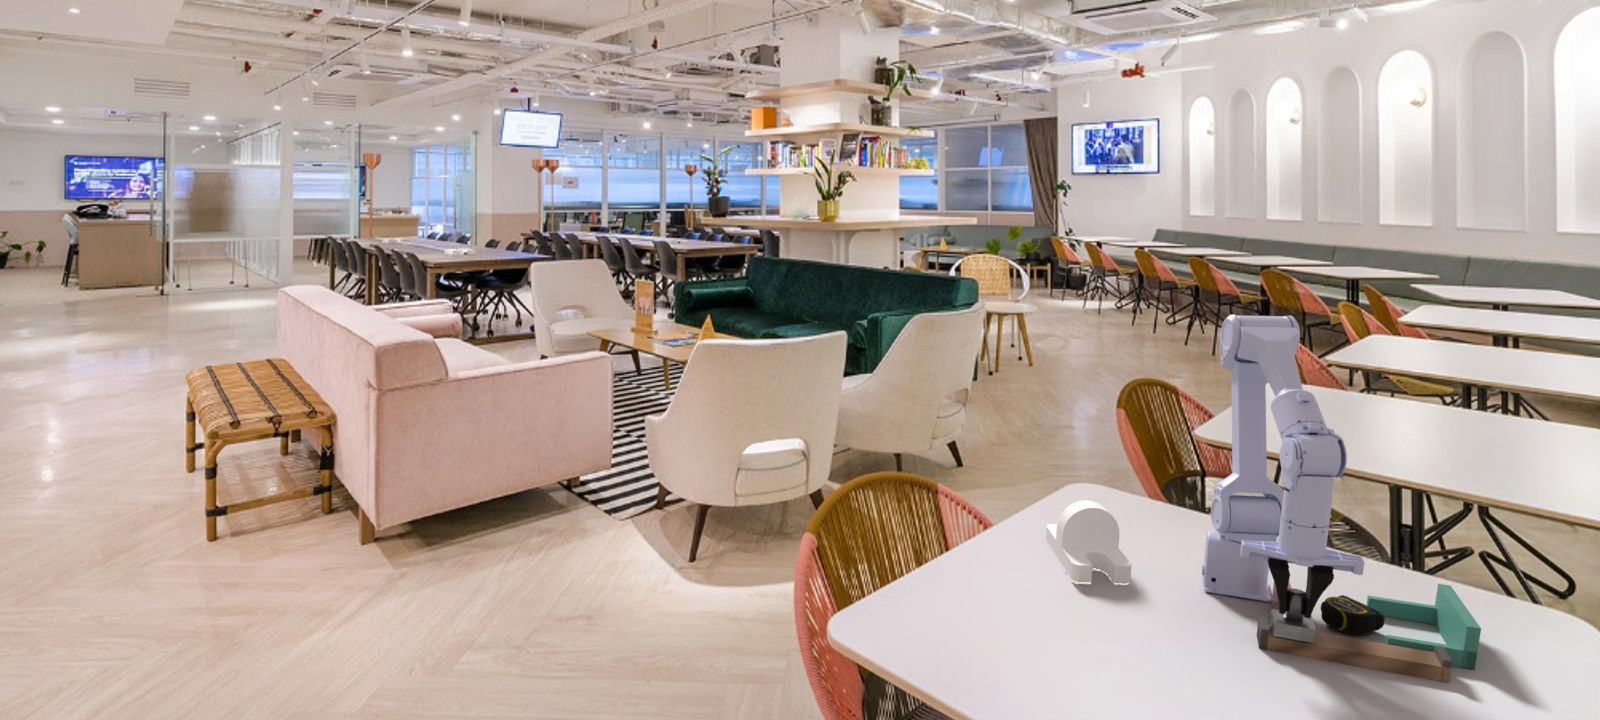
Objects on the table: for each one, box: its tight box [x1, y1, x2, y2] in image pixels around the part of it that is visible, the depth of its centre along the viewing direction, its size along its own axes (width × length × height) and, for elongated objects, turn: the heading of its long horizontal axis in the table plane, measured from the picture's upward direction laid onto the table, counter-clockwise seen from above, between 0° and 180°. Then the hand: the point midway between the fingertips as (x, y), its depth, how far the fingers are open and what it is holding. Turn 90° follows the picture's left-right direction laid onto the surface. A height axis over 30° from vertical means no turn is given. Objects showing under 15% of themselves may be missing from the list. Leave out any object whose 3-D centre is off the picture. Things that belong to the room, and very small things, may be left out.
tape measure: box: [1320, 594, 1386, 636], centre depth 127 cm, size 7×7×4 cm
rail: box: [1256, 615, 1453, 683], centre depth 118 cm, size 22×4×3 cm, turn 67°
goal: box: [1365, 583, 1482, 671], centre depth 123 cm, size 10×14×6 cm
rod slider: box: [1269, 581, 1317, 643], centre depth 126 cm, size 5×16×8 cm, turn 157°
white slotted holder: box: [1045, 499, 1132, 584], centre depth 149 cm, size 10×18×11 cm, turn 179°
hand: (1293, 612), depth 120 cm, fingers closed on rod slider, 2 cm apart
